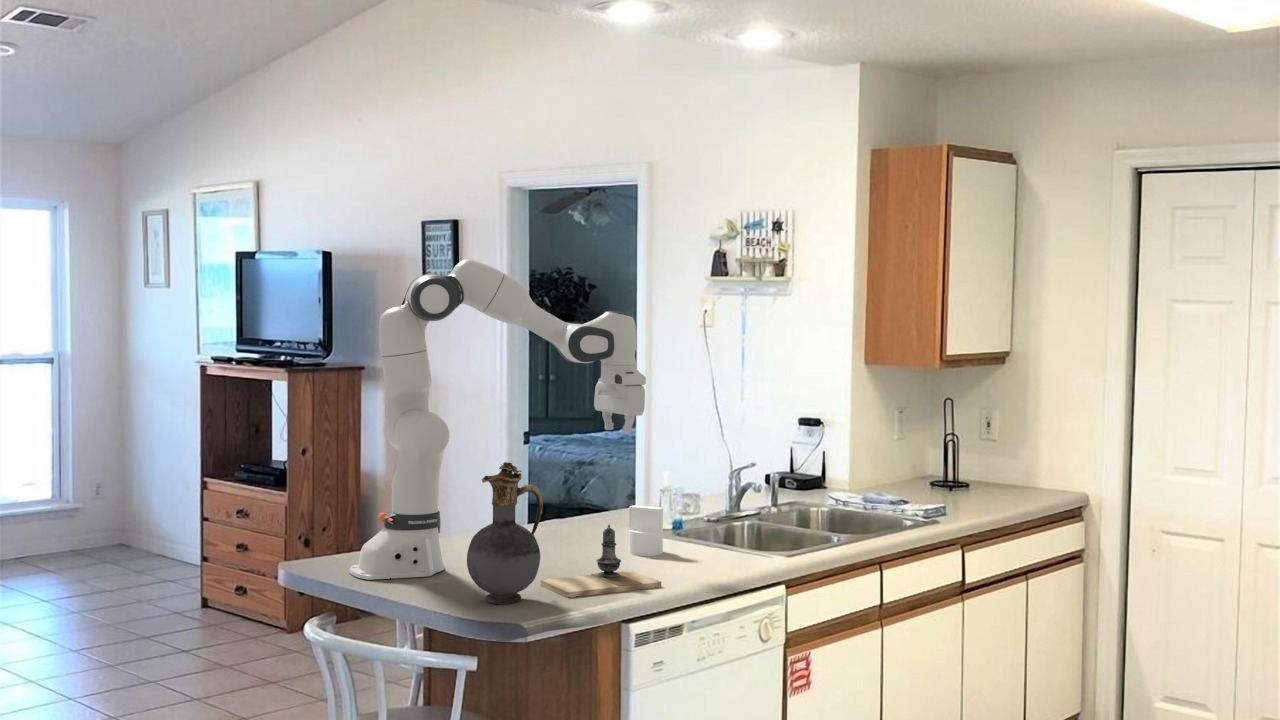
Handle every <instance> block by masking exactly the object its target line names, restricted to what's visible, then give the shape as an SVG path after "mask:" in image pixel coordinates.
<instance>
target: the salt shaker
mask: <svg viewBox="0 0 1280 720" xmlns="http://www.w3.org/2000/svg"><path fill="white" fill-rule="evenodd" d="M616 545H617V543H616V531H615V530H614V529H613V528H611V525H610V524H608V525H607V527H606V528H604V530H603V531H602V543H601V546H602V554H601V556H600V558H597V559H596V562H597V567H598V569H599V570H600V571H601V572H599V574H598V575H597V576H598V577H602V578H615V577H619V576H620V574H618V573H617V572H618V569H619V568H620V566H621V562H622V559H620V558H618V557H617V555H616Z"/></svg>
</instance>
